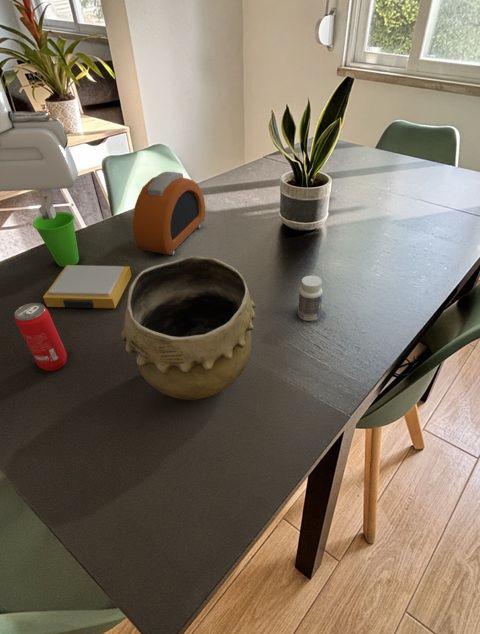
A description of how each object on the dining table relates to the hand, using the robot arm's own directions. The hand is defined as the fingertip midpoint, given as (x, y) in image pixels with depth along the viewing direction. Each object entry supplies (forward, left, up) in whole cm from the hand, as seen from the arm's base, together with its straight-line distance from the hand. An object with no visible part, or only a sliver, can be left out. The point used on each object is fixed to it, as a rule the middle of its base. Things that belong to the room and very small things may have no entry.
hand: (16, 219), depth 62 cm
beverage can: (-3, -2, -28) cm, 28 cm away
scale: (-4, +22, -28) cm, 35 cm away
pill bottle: (+45, +15, -28) cm, 55 cm away
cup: (-14, +34, -28) cm, 46 cm away
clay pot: (+25, -5, -28) cm, 37 cm away
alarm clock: (+10, +47, -28) cm, 55 cm away
